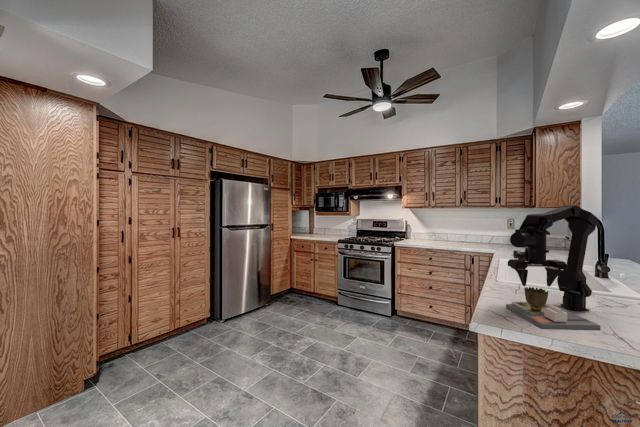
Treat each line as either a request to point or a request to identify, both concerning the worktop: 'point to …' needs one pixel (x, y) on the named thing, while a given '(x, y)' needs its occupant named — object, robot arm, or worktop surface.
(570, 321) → the grey flat square slab
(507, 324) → the worktop surface
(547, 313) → the breaker switch
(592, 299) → the worktop surface
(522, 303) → the lockout tray
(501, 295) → the worktop surface
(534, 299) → the cup
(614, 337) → the worktop surface
